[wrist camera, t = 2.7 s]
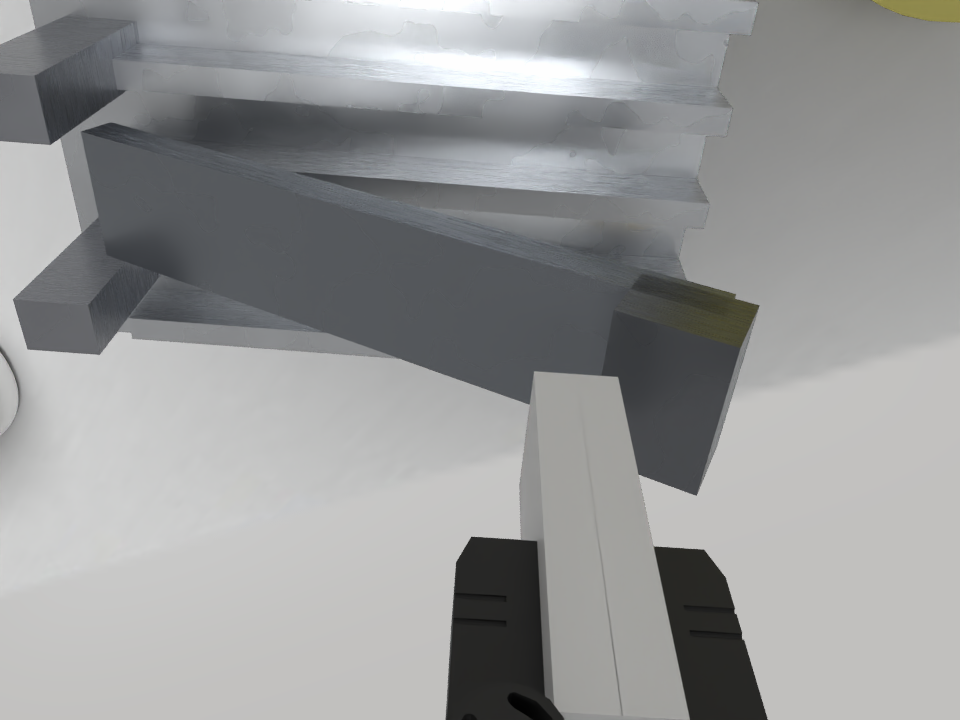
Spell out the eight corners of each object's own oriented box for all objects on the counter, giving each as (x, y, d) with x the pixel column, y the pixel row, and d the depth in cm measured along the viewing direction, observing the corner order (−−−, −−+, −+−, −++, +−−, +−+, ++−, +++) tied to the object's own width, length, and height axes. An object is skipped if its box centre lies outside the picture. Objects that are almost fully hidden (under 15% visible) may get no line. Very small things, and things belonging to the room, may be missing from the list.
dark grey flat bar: (133, 242, 24) (78, 268, 22) (111, 122, 22) (48, 142, 20) (718, 441, 18) (696, 495, 16) (761, 301, 16) (740, 348, 14)
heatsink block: (705, -79, 27) (822, -18, 17) (632, 291, 34) (681, 484, 24) (98, -129, 26) (-152, -97, 16) (163, 256, 34) (20, 435, 24)
